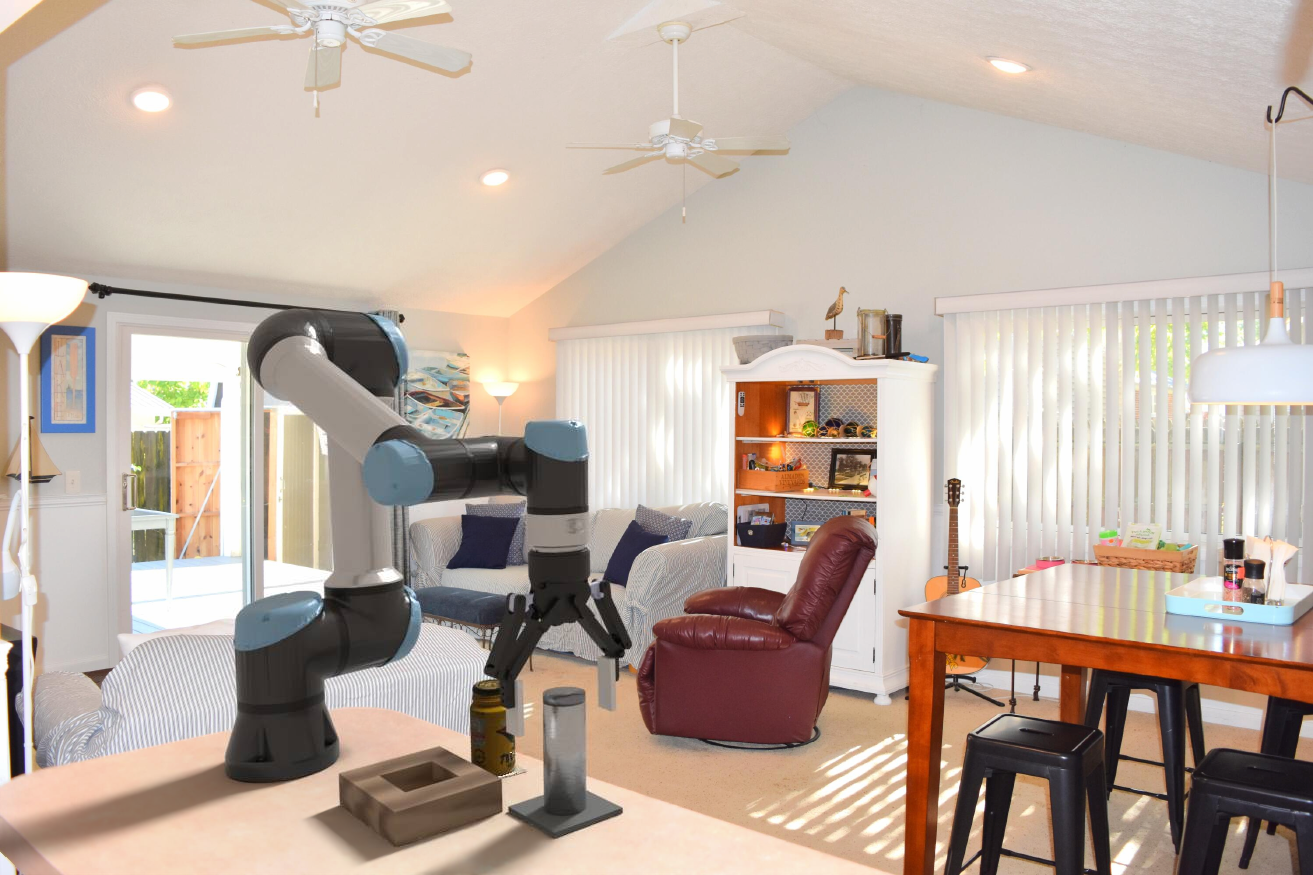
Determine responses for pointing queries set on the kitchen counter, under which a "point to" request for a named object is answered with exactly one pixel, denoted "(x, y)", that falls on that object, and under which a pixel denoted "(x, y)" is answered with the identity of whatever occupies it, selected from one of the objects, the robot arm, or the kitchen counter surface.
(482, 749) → the condiment
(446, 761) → the housing
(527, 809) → the mat
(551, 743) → the plug
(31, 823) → the kitchen counter surface
